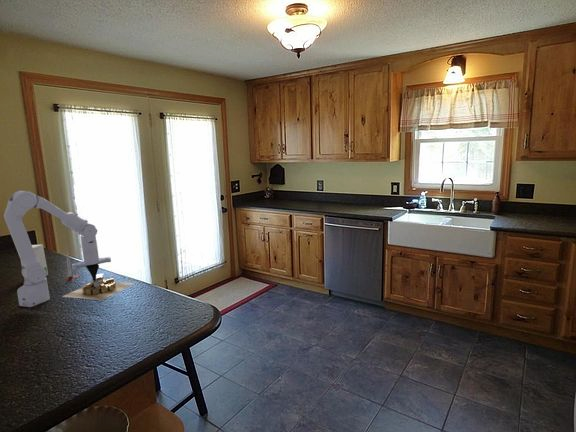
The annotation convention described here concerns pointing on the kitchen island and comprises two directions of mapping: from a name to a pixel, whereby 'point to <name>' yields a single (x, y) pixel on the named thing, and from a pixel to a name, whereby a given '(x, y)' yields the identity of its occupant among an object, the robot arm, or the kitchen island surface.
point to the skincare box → (40, 256)
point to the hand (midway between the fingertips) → (94, 281)
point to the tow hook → (69, 270)
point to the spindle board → (100, 296)
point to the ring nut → (103, 288)
